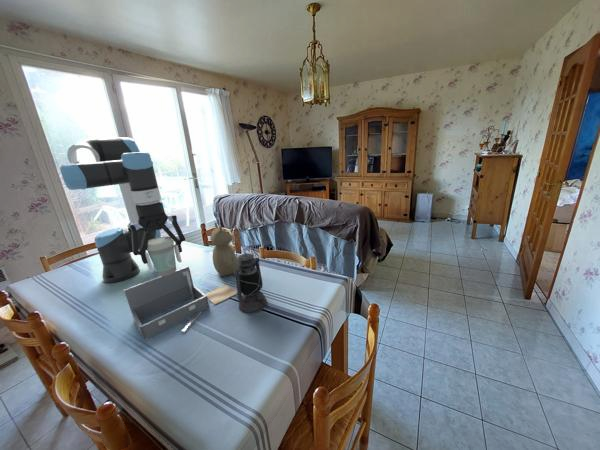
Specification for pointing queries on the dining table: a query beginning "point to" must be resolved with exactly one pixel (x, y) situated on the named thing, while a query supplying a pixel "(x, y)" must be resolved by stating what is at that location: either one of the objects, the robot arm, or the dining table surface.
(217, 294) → the cork pad
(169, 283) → the case
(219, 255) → the bear
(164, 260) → the coffee cup
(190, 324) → the bar
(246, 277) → the lantern
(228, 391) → the dining table surface
